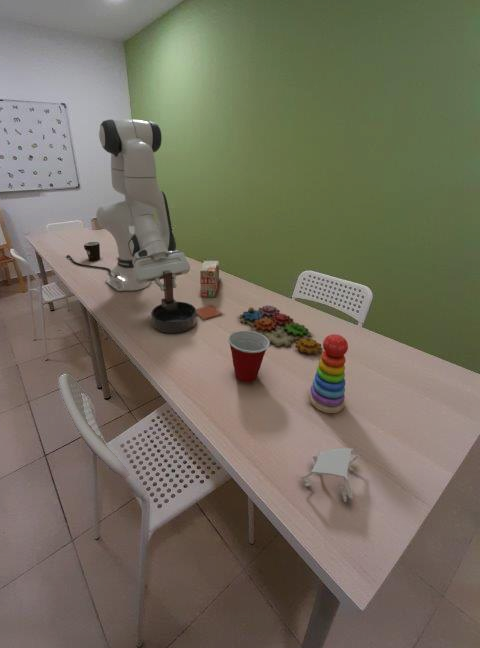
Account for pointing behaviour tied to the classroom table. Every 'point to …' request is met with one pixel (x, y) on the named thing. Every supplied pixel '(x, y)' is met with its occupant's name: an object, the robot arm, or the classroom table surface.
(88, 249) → the coffee mug
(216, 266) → the food box
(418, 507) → the classroom table surface
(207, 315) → the plate
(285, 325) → the gear puzzle
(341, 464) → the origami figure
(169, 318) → the pan
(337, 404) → the stacking toy
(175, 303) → the brown post with base
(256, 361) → the plastic cup
